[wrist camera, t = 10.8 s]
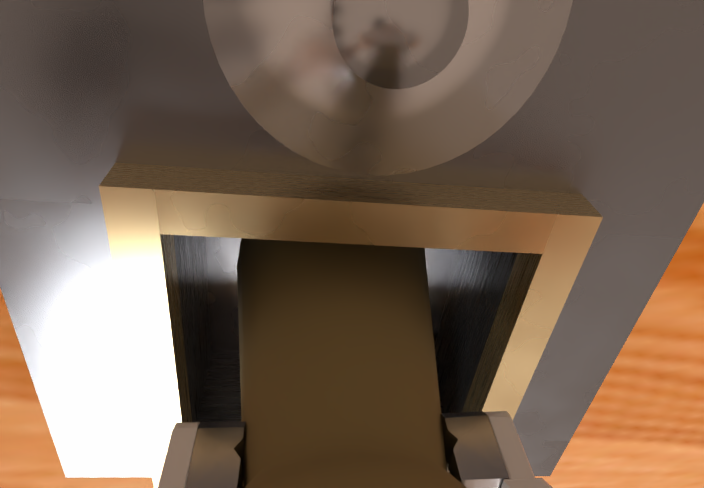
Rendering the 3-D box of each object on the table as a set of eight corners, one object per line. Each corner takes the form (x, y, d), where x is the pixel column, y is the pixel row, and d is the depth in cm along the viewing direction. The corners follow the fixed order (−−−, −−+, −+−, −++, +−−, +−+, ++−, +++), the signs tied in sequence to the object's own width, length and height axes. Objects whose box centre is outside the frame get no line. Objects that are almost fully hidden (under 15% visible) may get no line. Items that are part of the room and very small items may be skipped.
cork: (343, 360, 19) (374, 785, 10) (199, 281, 16) (67, 755, 7) (463, 255, 17) (649, 687, 8) (318, 144, 14) (335, 592, 5)
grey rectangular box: (508, 376, 22) (571, 528, 16) (111, 368, 20) (41, 537, 15) (728, -163, 12) (1062, -207, 7) (-30, -285, 10) (-412, -489, 5)
